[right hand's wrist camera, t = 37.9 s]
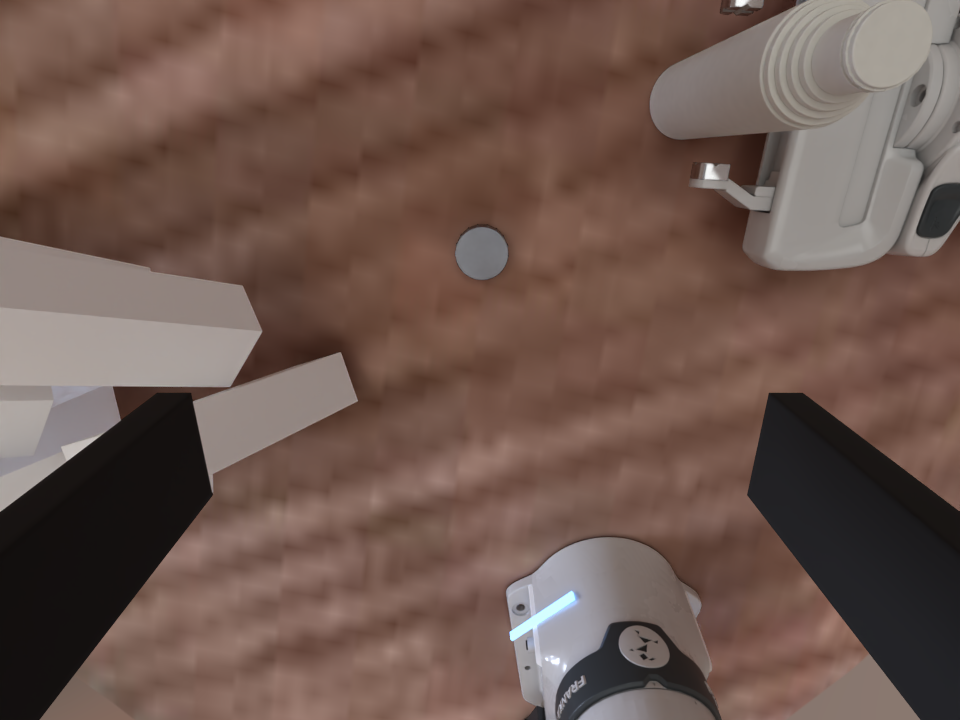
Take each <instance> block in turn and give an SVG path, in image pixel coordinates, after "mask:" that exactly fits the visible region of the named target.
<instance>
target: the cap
mask: <svg viewBox="0 0 960 720" xmlns="http://www.w3.org/2000/svg"><path fill="white" fill-rule="evenodd" d="M455 255H456V261H457V264H458V266H459V268H460V269H461V270H462V271H463V273H465V274H466V275H467V276H469V277H471V278H473V279H477V280H487V279H491V278H493V277H495V276H497V275H498V274H499V273H500V272H501V271H502V270H503V269H504V267H505V266H506V263H507V260H508V257H509V255H508V244H507V243H506V240H505V238H504V235H502V234H501V233H500V232H499V231H498V230H497V228H496V229H495V228H494V227H492V226H489V225H488V224H487V225H478V224H477V225H475V226H472V227H470V228H469V227H468V229H467V230H466V231H464V232H463V234H461V235H460V238H459V240H458V243H456V252H455Z"/></svg>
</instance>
